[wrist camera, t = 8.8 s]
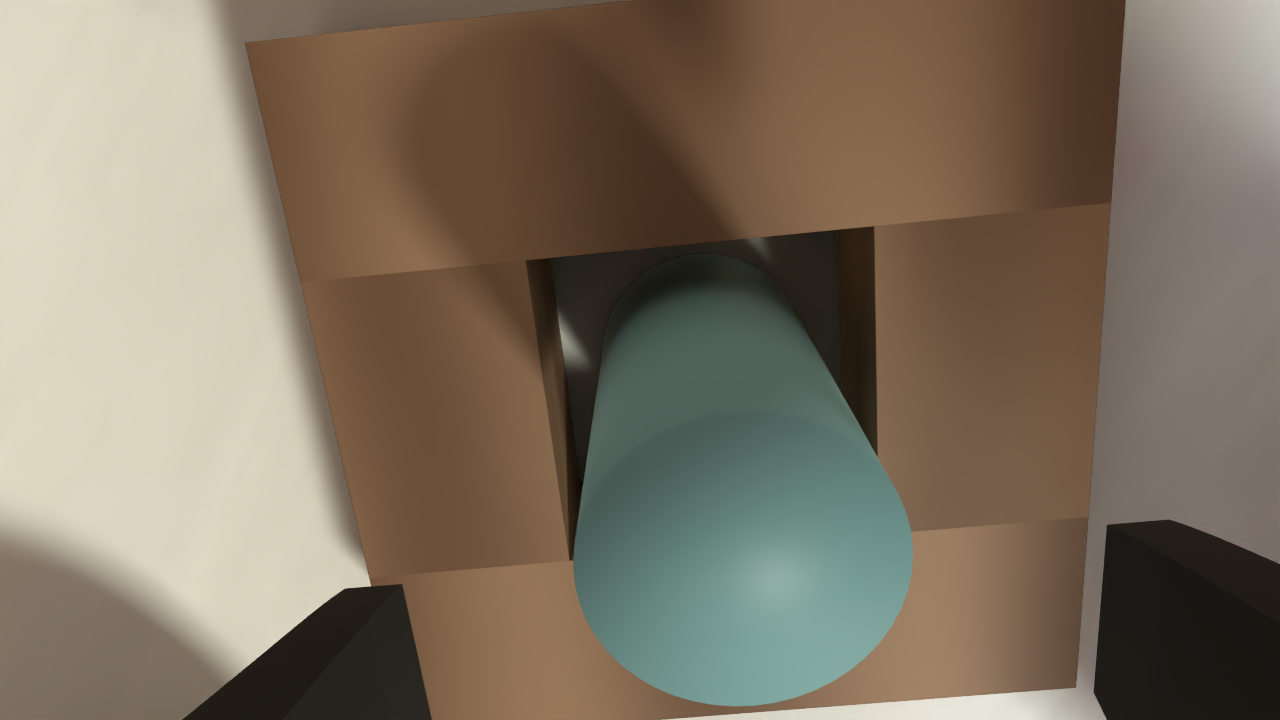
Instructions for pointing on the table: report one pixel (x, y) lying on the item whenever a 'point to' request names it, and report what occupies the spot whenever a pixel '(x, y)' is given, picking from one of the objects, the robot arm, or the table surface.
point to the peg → (731, 496)
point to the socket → (699, 213)
